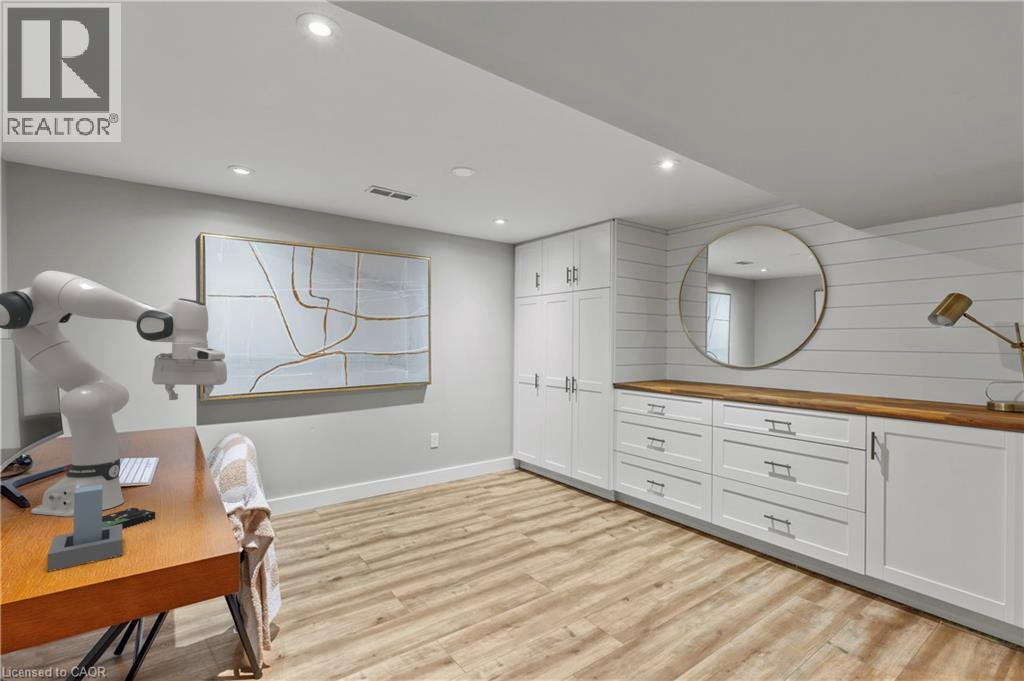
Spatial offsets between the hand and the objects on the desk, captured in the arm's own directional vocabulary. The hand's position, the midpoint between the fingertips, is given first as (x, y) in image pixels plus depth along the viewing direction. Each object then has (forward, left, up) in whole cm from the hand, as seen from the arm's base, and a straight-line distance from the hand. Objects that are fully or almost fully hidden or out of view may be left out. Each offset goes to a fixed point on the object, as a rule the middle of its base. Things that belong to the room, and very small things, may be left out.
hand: (189, 400), depth 140 cm
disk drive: (-17, -5, -36) cm, 40 cm away
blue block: (-8, -24, -35) cm, 43 cm away
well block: (-8, -24, -35) cm, 43 cm away
